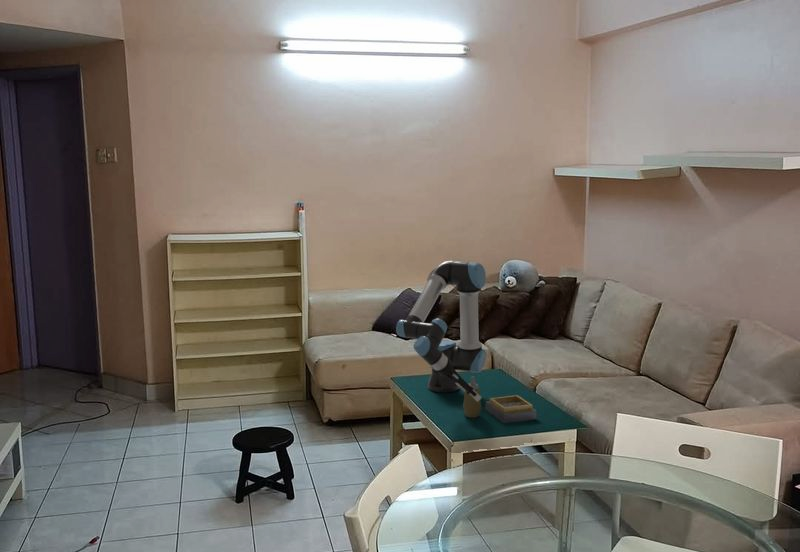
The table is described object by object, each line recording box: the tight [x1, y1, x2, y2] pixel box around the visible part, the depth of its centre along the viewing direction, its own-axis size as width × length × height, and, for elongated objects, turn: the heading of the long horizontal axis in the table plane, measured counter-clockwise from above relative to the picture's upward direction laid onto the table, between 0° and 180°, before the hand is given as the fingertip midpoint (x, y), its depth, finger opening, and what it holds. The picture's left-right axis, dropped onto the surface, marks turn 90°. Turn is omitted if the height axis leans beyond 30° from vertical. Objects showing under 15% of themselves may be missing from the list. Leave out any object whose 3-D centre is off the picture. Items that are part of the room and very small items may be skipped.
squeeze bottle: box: [462, 375, 482, 418], centre depth 346 cm, size 8×8×18 cm
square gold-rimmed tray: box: [484, 394, 538, 424], centre depth 349 cm, size 18×16×6 cm
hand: (472, 394), depth 346 cm, fingers open, 13 cm apart
